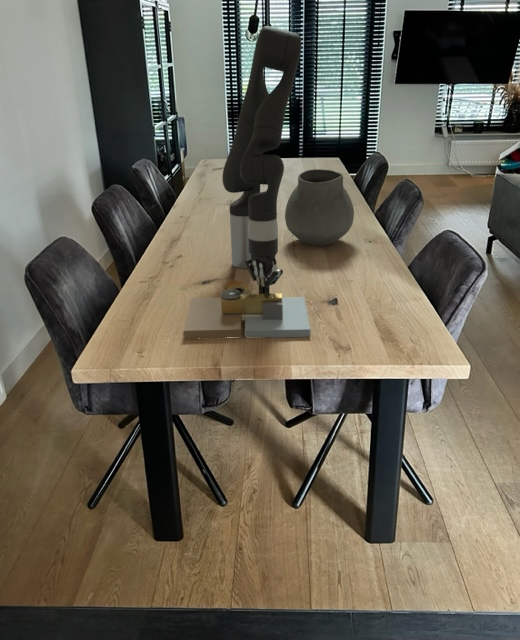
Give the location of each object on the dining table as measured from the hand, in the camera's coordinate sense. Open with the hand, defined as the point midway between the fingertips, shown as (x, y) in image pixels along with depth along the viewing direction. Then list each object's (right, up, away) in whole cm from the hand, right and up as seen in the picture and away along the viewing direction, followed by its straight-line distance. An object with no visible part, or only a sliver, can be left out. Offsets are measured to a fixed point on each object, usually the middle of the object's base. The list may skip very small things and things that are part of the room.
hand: (264, 297), depth 152 cm
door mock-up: (-5, -6, -3) cm, 9 cm away
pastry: (-8, +2, +14) cm, 17 cm away
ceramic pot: (+20, +22, +55) cm, 62 cm away
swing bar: (-3, -3, -4) cm, 6 cm away
